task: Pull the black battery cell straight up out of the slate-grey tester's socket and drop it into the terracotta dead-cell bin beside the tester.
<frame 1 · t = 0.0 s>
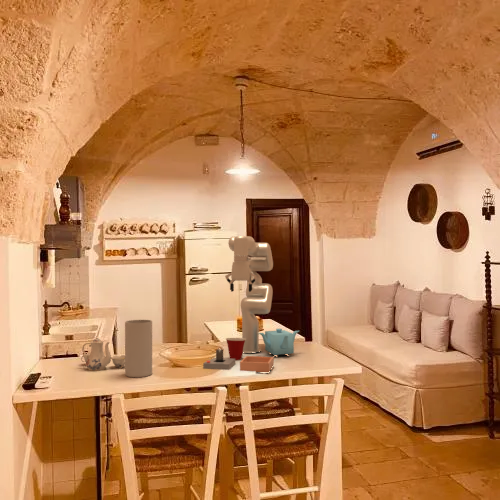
hand: (241, 291, 257), 37 cm above the table, tool pointing down, fingers open, 9 cm apart
dead-cell bin: (257, 369, 237), on the table
battery cell: (219, 365, 241), point 1 cm above the table, touching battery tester
chinaware: (100, 368, 243), on the table
teakettle: (279, 355, 271), on the table
cylinder vase: (138, 375, 228), on the table
plastic cup: (235, 361, 258), on the table
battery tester: (219, 368, 241), on the table
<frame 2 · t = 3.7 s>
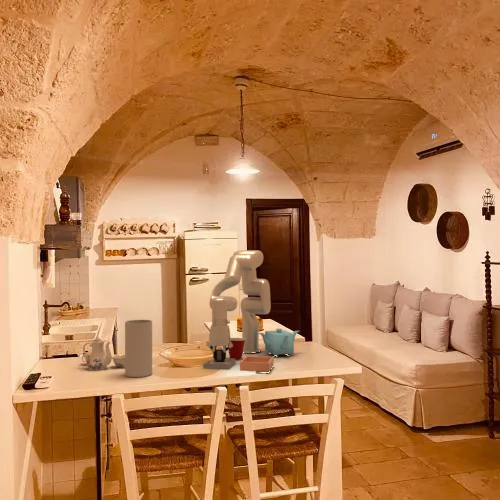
hand: (219, 359, 241), 4 cm above the table, tool pointing down, fingers closed on battery cell, 3 cm apart
battery cell: (219, 365, 241), point 1 cm above the table, touching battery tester, gripper
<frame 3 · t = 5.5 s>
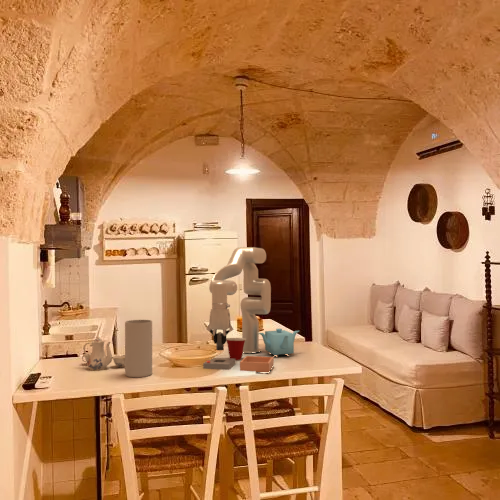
hand: (219, 343, 241), 12 cm above the table, tool pointing down, fingers closed on battery cell, 3 cm apart
battery cell: (220, 349, 241), point 9 cm above the table, touching gripper
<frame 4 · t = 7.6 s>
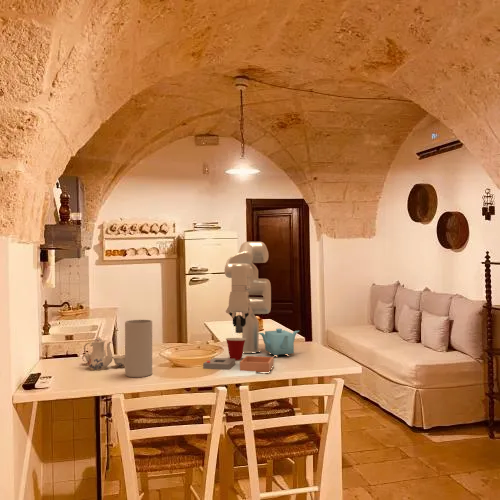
hand: (239, 325, 239), 21 cm above the table, tool pointing down, fingers closed on battery cell, 3 cm apart
battery cell: (239, 332, 239), point 18 cm above the table, touching gripper
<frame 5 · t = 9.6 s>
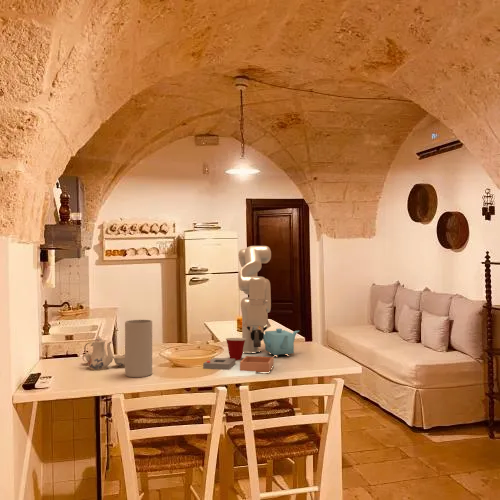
hand: (257, 339, 237), 15 cm above the table, tool pointing down, fingers closed on battery cell, 3 cm apart
battery cell: (257, 346, 237), point 11 cm above the table, touching gripper
when the fingers open (6 cm above the table, at t = 11.4 s): battery cell drops 2 cm, resting on dead-cell bin.
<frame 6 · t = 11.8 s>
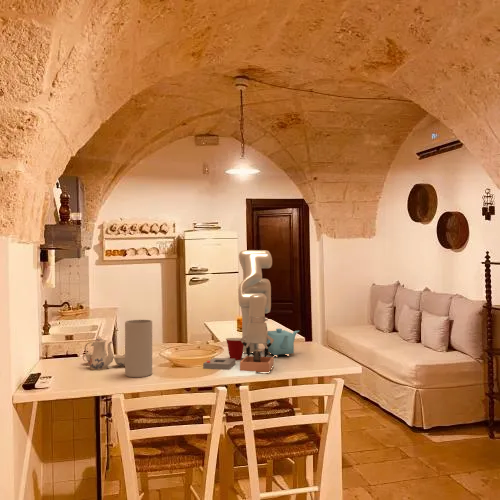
hand: (257, 355, 237), 7 cm above the table, tool pointing down, fingers open, 8 cm apart
battery cell: (257, 368, 237), point 1 cm above the table, touching dead-cell bin
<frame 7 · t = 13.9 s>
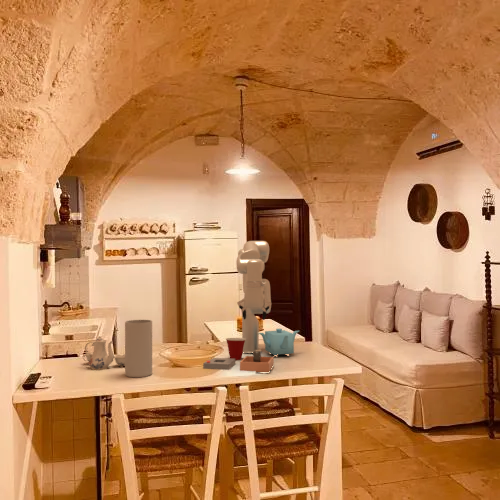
hand: (254, 319, 242), 24 cm above the table, tool pointing down, fingers open, 9 cm apart
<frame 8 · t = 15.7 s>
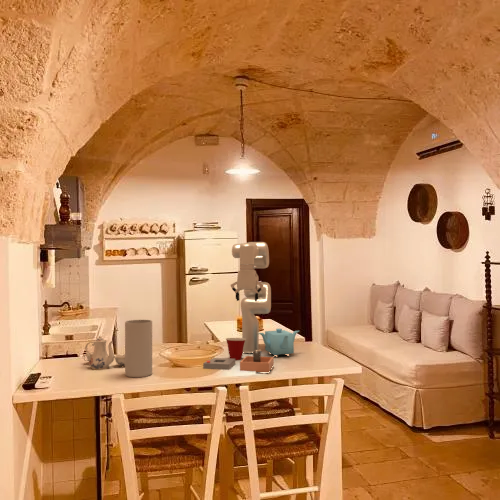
hand: (246, 300, 253), 32 cm above the table, tool pointing down, fingers open, 9 cm apart
at the end: battery cell inside the target area on the dead-cell bin (0.1 cm from its centre), point 0.8 cm above the dead-cell bin's base; the gripper is holding nothing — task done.
